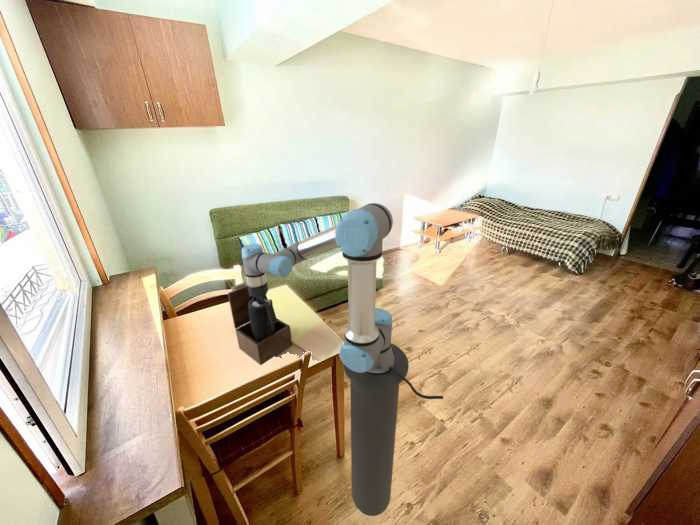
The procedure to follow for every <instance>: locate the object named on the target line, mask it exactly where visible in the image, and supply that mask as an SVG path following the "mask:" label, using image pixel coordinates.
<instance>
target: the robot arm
mask: <svg viewBox="0 0 700 525" xmlns="http://www.w3.org/2000/svg"><path fill="white" fill-rule="evenodd" d="M393 220H394V219H393V215H392V213H391V211H390V210H389V209H388V207H386V206H385V205H384V204H381V203H378V202H371V203H367V204H365V205H363V206H361V207H359V208H357V209H352V210H350V211H348V212H347V213H346V214H345V215H343V216H342V217H341V218H340V219H339V220H338V222H337V224H336V225H333V226H331V227H329V228H327V229H324V230H322V231H320V232H318V233H315V234H313V235H311V236H309V237H306V238H305V239H302V240H300V241H297V242H294V243H292V244H291V245H289V246H287V247H285V248H283V249H280V250H278V251H276V252H275V253H269V252H265V251H264V249H263V246H262V245H261V244H259V243H251V244H247V245H244V246H243V247H242V248H241V260H242V264H243V270H244V274H245V283H246V285H248V286H247V287H248V292H247V295H248V303H249V301H250V300H251V299H253V301H257V303H258V304H259V305H260V306H261V304H264V303H265V306H266V310H267V313H268V314H266V318H267V322H268V323H267V329H268V336H271V335H272V334H274V333H275V328H274V323H276V322H277V319H278V318H277V315H276V312H275V308H274V305H273V300H272V299H268V297H267V294H268V292H269V286H268V282H267V281H268V279H267V275H270V276H273V277H276V278H278V277H279V278H286V277H288V276H289V275H290V273H291V272H292V270H293V267H294V266H295V265H298V264H300V263H302V262H303V261H307V260H309V259H312V258H313V257H316V256H319V255H322V254H324V253H327V252H329V251H332V250H335V249H338V248H339V250H340V251H341V252H342V257H343V259H345V261H347V295H348V297H347V298H348V299H347V300H348V301H347V302H348V304H347V305H348V306H347V307H348V324H347V325H346V326H345V328H344V331H343V333H344V334H343V336H344V342H343V344H342V345H341V346H340V349H339V351H338V356H339V359H340V362H341V363H342V365H343V364H344V365H346V367H348V368H349V369H351V370H352V371H355V372H358V373H364V372H366V373H369V374H373V375H380V374H385V373H387V372H389V371H390V370H392V371H393V372H394V373H395V374H397V375H398V376H399V377H400V378H401V379H403V382H405V383H406V384H407V385H408V386H409V387H410V389H411V390H412V392H413V393H414V394H415V395H416V396H418V397H419V398H421V399H426V400H444V396H443V395H424V394H423V393H420V392H418V391H417V390H416V388H415V387H414V385H413V384H412V383H411V382H410V380H408V379H407V377H405V378H404V377H403V376H402V375H401V374H399V373H398V372H397V371H396V370H394V369H393V366H394V354H393V352H392V349H391V343H392V332H393V330H392V329H393V324H394V322H393V315H392V314H391V313H390V312H389V311H388V310H386V309H384V308H379V307H376V299H377V298H376V297H377V295H376V294H377V262H378V260H380V259H381V258H382V257H383V240H384V239H385V238H386V237H387V236H388V235H389V234H390V232H391V231H392V230H393V223H394V221H393ZM248 310H249V307H248ZM276 318H277V319H276Z"/></svg>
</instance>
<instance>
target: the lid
mask: <svg viewBox="0 0 700 525" xmlns="http://www.w3.org/2000/svg"><path fill="white" fill-rule="evenodd" d="M247 286H248V285H247V282H246V281H243V282H241V283H238V284H236V285H232V286H231V288H230V289H231V291H230V292H227V297H228V302H229V308H230V311H231V317H232V322H233V327H234V330H235V329H237V328H239V327H241V326H243V325H245V324H247V323H249V322H250V317H249V310H248V295H247V292H248V287H247Z"/></svg>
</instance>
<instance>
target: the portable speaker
mask: <svg viewBox="0 0 700 525" xmlns="http://www.w3.org/2000/svg"><path fill="white" fill-rule="evenodd" d="M248 307H249V317H250V322H251V327H252V331H253V334H254V337H255V339H256V341H257V342H258V343H259V342H261V341H262V340H264V339H266V338H267V337H269V336H268V329H267V323H268V322H267V318H266V314H268V313H267V310H266V306H265V303H264V304H261V306H260V305H259V304H258V303H257V301H253V299H251V300H250V301H249V303H248Z"/></svg>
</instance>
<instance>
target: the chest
mask: <svg viewBox="0 0 700 525" xmlns="http://www.w3.org/2000/svg"><path fill="white" fill-rule="evenodd" d="M276 319H277V322H276V323H274V328H275V333H274V334H272V335H271V336H269V337H267V338H266V339H264V340H262V341H261V342H259V343H258V342H257V341H256V339H255V337H254V334H253V331H252V327H251V322H248V323H246V324H244V325H242V326H240V327H238V328H236V329H235V328H234V330H235V335H236V340H237V344H238V349H239V350H240V351H241V352H243V353H244V354H245V355H247V356H248V357H249V358H251V359H252V360H253V361H255V362H256V363H257V364H259V365H260V366H262V365H264V364H265V363H267V362H268V361H270V360H272V359H273V358H274V357H276V356H277V355H279V354H281V353H282V352H284V351H285V350H287V349H288V348H289V347H291V346H293V341H292V332H291V326H290V325H289V324H288V323H286V322H284V321H283V320H281V319H279V318H277V317H276Z"/></svg>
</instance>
